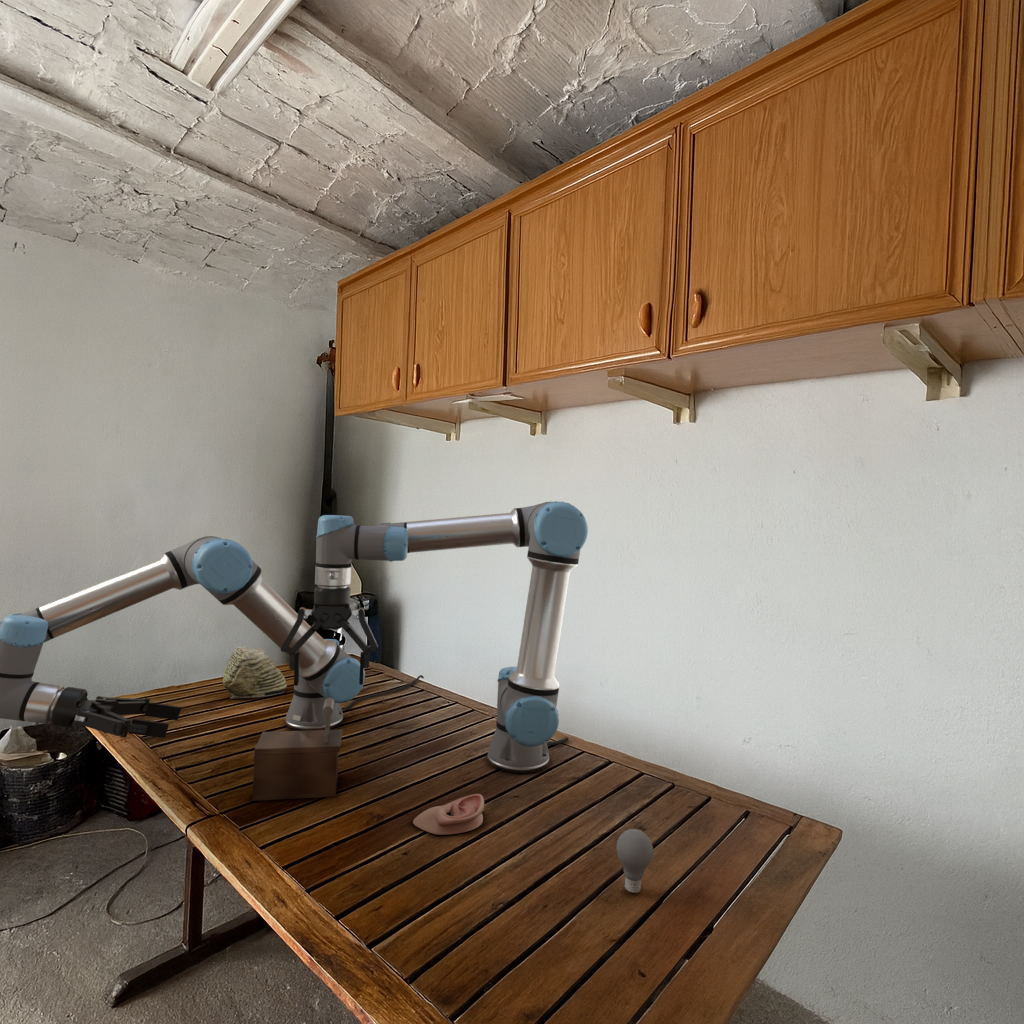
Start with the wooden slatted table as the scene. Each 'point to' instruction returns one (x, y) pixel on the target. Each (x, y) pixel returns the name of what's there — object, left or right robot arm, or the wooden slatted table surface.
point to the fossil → (252, 674)
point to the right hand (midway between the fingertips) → (329, 683)
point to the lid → (302, 738)
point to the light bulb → (634, 857)
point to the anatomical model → (452, 816)
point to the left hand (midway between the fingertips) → (173, 721)
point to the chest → (295, 775)
